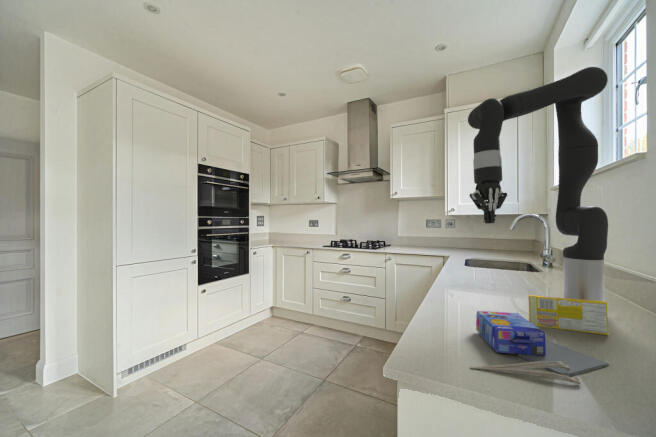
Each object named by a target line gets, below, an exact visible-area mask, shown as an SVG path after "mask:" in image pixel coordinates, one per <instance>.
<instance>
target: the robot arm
mask: <svg viewBox="0 0 656 437" xmlns="http://www.w3.org/2000/svg"><path fill="white" fill-rule="evenodd" d="M608 80H609V79H608V74H607V72H606V71H605V70H604V69H603V68H601V67H599V66H594V65H593V66H587V67H583V68H582V69H579V70H577V71H575V72H573V74H570V75H568V76H566V77H564V78H561V79H558V80H555V81H553V82H550V83H546V84H544V85H541V86H537V87H534V88H531V89H526V90H524V91H519V92H517V93H513V94H509V95H507V96H505V97H503V98H502V99H500V100H499V99H496V98H495V97H494V98H493V97H492V98H491V97H490V98H488V99H486V100H484V101H482V102H481V103H480V104H478V105H477V106H476V107H475V108H473V109H472V110H471V111H470V112H469V114H468V117H467V122H468V124H469V127H471V128H472V129H476V130H478V133H477V134H476V135H475V137H474V138H473V180H474V181H473V182H474V184H475V185H476V186H475V191H474V192H473V193H471V192H470V193H469V198H470V199H471V201H472V202H473V203H474V205H475V206H476V208H477V209H478V210H481V211H483V220H484V221H483V222H484V223H485V224H495V221H496V211H497V210H498V209H499V210H500V209H501V208H502V206H503V204H504V203H505V200H506V198H507V197H508V193H507V192H504V191H502V186H501V182H502V181H503V163H502V155H501V143H500V142H501V141H500V140H501V139H500V136H501V132H502V128H503V123H504V121H507V120H510V119H511V120H512V119H516V118H519V117H522V116H525V115H529V114H532V113H534V112H537V111H539V110H542V109H545V108H546V107H549V106H552V105H555V112H556V120H557V130H558V131H557V133H558V151H557V152H558V153H557V154H558V155H557V156H558V157H557V158H558V160H557V161H558V163H557V164H558V193H557V200H556V210H555V225H556V228H557V230H558V232H560V233H561V234H562V235H565V236H571V237H573V236H574V237H576V236H577V241H576V243H574V244H573V245H571V246H566V247H564V248H563V250H562V266H563V268H562V272H563V273H562V274H563V278H562V280H563V282H562V283H563V287H562V288H563V298H570V299H582V300H595V301H604V302H606V285H605V253H606V251H607V247H608V235H609V234H608V233H609V219H608V215H607V213H606V211H605V210H604V209H603V208H601V207H600V206H595V205H593V206H592V205H590V206H588V205H587V206H581V199H582V198H581V197H582V193H583V189H584V188H585V186H586V184H587V182H588V181H589V180H590V178H591V177H592V175H593V173H594V172H595V170H596V168H597V166H598V163H599V142H598V139H597V137H596V135H595V134H594V133H593V132H592V131H591V129H589V128H588V126H587V125H586V124H585V123H584V121H583V116H582V103H583V102H585V101H588V100H590V99H592V98H595V97H596V96H597V95H599V94H600V93H601V92H603V91H604V89H605V88H606V86H607V84H608Z"/></svg>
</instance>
